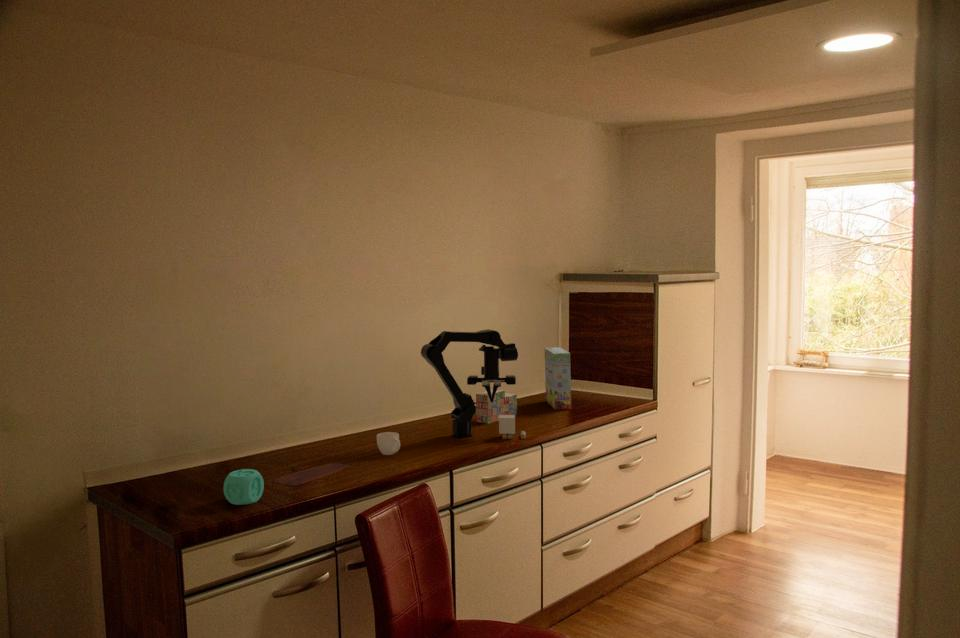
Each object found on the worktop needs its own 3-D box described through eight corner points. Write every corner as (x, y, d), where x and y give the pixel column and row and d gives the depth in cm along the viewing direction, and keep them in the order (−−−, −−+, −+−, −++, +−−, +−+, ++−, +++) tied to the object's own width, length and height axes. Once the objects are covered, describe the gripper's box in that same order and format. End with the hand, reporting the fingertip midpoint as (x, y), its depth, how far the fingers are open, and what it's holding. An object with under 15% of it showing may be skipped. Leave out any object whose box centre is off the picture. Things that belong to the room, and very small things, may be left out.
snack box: (543, 401, 354) (543, 347, 352) (561, 400, 355) (561, 347, 353) (553, 410, 333) (553, 352, 331) (572, 409, 334) (572, 352, 332)
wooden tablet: (294, 489, 222) (294, 483, 222) (271, 484, 227) (271, 479, 227) (355, 467, 244) (355, 462, 244) (333, 463, 250) (333, 458, 249)
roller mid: (510, 440, 279) (514, 437, 279) (506, 436, 279) (510, 433, 279) (510, 437, 285) (514, 433, 285) (506, 433, 285) (510, 429, 285)
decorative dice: (240, 495, 215) (239, 468, 214) (264, 497, 213) (263, 470, 212) (223, 503, 207) (222, 475, 207) (248, 506, 205) (247, 477, 204)
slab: (499, 433, 280) (498, 417, 279) (499, 430, 285) (499, 415, 284) (515, 433, 279) (515, 417, 279) (515, 430, 284) (514, 415, 284)
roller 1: (502, 440, 279) (507, 439, 279) (501, 434, 279) (507, 433, 279) (502, 436, 285) (508, 435, 285) (502, 431, 285) (507, 430, 285)
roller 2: (521, 433, 279) (520, 438, 279) (526, 435, 279) (525, 440, 279) (521, 430, 285) (520, 435, 285) (526, 431, 285) (525, 436, 285)
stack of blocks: (505, 413, 327) (505, 385, 326) (517, 415, 323) (517, 387, 322) (475, 422, 310) (475, 393, 309) (488, 424, 306) (487, 394, 305)
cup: (389, 449, 265) (389, 430, 265) (408, 454, 259) (407, 435, 258) (372, 453, 260) (372, 434, 259) (391, 458, 253) (390, 439, 252)
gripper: (515, 359, 296) (515, 398, 297) (468, 359, 297) (469, 398, 298) (515, 363, 285) (515, 403, 286) (466, 363, 286) (467, 403, 287)
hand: (491, 402), depth 289 cm, fingers closed
